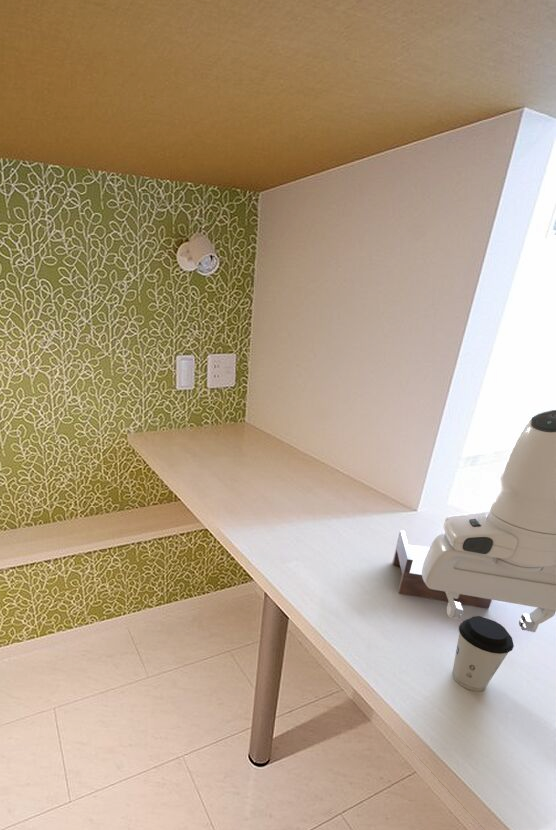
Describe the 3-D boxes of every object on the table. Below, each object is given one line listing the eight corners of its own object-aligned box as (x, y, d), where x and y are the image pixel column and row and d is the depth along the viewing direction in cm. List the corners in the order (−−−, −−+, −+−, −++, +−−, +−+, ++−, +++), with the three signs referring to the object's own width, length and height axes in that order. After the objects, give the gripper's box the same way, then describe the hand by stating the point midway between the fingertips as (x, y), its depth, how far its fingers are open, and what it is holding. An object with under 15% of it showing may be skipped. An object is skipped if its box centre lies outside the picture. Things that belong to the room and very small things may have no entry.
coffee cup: (506, 690, 65) (529, 638, 60) (471, 702, 63) (492, 650, 58) (466, 657, 71) (485, 608, 66) (433, 667, 69) (450, 617, 64)
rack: (472, 574, 93) (483, 541, 89) (488, 608, 82) (501, 573, 79) (392, 561, 96) (400, 530, 93) (398, 593, 86) (407, 559, 83)
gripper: (604, 538, 56) (563, 622, 62) (433, 515, 61) (410, 595, 67) (632, 564, 51) (584, 653, 57) (442, 536, 56) (416, 621, 62)
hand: (488, 621), depth 62 cm, fingers open, 8 cm apart
